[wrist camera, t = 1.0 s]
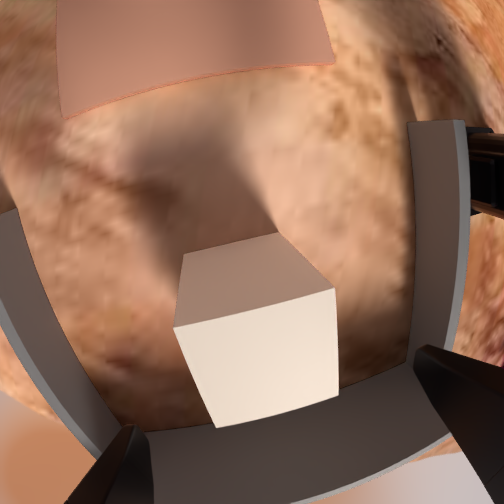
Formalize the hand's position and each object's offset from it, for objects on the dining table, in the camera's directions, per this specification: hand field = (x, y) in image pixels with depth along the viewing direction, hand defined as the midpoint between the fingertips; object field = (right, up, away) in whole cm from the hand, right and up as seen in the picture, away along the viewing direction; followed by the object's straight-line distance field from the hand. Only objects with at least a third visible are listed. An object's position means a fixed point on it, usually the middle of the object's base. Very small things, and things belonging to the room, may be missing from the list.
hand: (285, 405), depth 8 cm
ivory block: (-2, +3, +8) cm, 9 cm away
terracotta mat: (-5, +19, +2) cm, 19 cm away
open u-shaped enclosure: (-1, +2, +9) cm, 9 cm away
